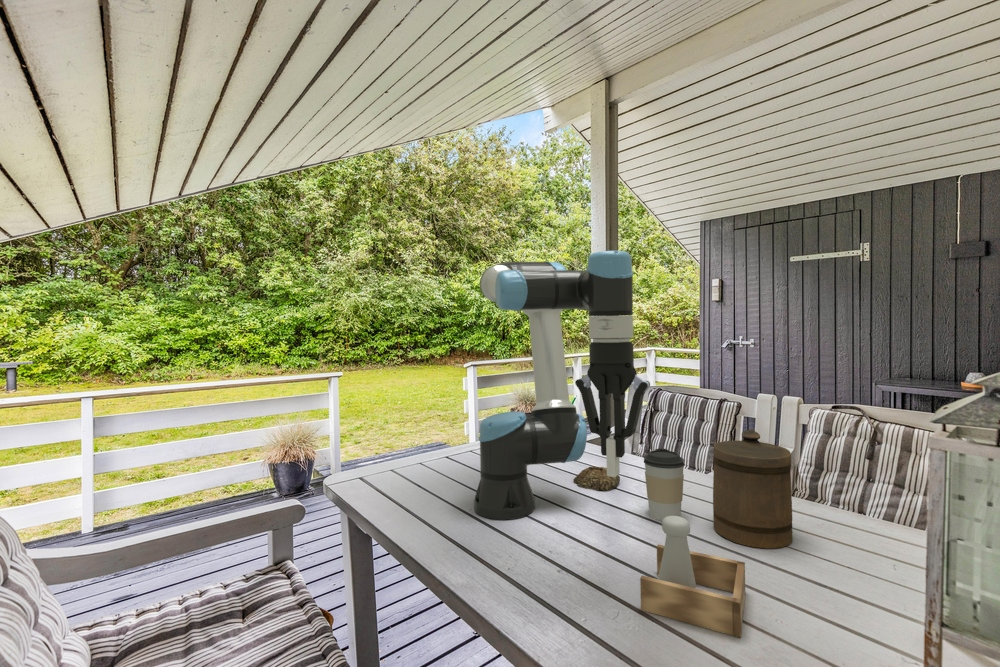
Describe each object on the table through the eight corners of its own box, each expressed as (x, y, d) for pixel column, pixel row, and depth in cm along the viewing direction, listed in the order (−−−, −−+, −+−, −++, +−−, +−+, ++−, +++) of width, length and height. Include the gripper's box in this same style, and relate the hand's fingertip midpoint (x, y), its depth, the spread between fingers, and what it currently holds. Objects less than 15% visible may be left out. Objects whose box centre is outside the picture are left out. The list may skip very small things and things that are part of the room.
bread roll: (625, 481, 135) (624, 464, 135) (610, 494, 125) (610, 476, 125) (583, 474, 142) (583, 458, 142) (566, 486, 132) (566, 469, 132)
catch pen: (640, 609, 74) (640, 578, 73) (658, 571, 85) (657, 544, 85) (740, 637, 66) (740, 602, 66) (745, 592, 78) (744, 562, 78)
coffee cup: (689, 524, 104) (687, 458, 104) (646, 522, 106) (645, 456, 106) (681, 509, 113) (680, 447, 113) (642, 507, 115) (641, 446, 115)
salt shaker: (658, 604, 75) (656, 523, 75) (658, 585, 80) (656, 510, 80) (697, 610, 73) (695, 527, 73) (695, 590, 78) (693, 513, 78)
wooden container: (806, 536, 97) (804, 431, 97) (769, 556, 89) (766, 442, 89) (737, 513, 110) (735, 420, 110) (699, 529, 102) (697, 429, 102)
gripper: (568, 341, 82) (570, 475, 82) (643, 341, 75) (646, 486, 76) (583, 339, 88) (585, 463, 89) (654, 339, 82) (656, 473, 82)
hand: (613, 474), depth 82 cm, fingers closed
